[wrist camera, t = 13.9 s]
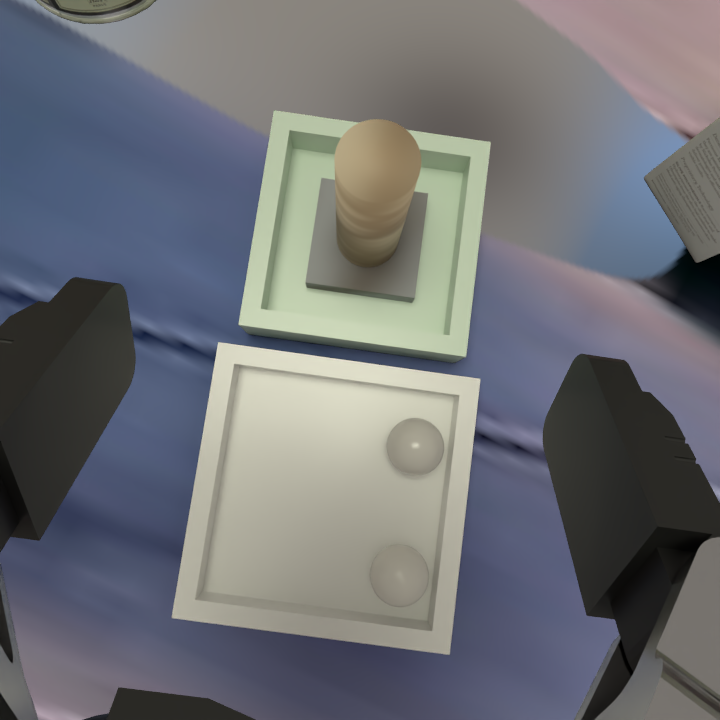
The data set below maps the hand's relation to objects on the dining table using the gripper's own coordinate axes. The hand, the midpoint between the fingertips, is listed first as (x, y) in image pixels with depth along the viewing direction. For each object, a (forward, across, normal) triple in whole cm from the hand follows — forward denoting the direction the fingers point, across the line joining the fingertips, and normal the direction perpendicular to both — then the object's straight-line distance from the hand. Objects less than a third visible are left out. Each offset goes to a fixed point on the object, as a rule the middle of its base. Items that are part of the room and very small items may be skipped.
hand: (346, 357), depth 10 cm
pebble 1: (+12, -4, +15) cm, 20 cm away
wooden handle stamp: (+21, 0, +8) cm, 23 cm away
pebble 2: (+8, -4, +20) cm, 21 cm away
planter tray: (+22, 0, +9) cm, 24 cm away
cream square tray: (+12, 0, +19) cm, 22 cm away
